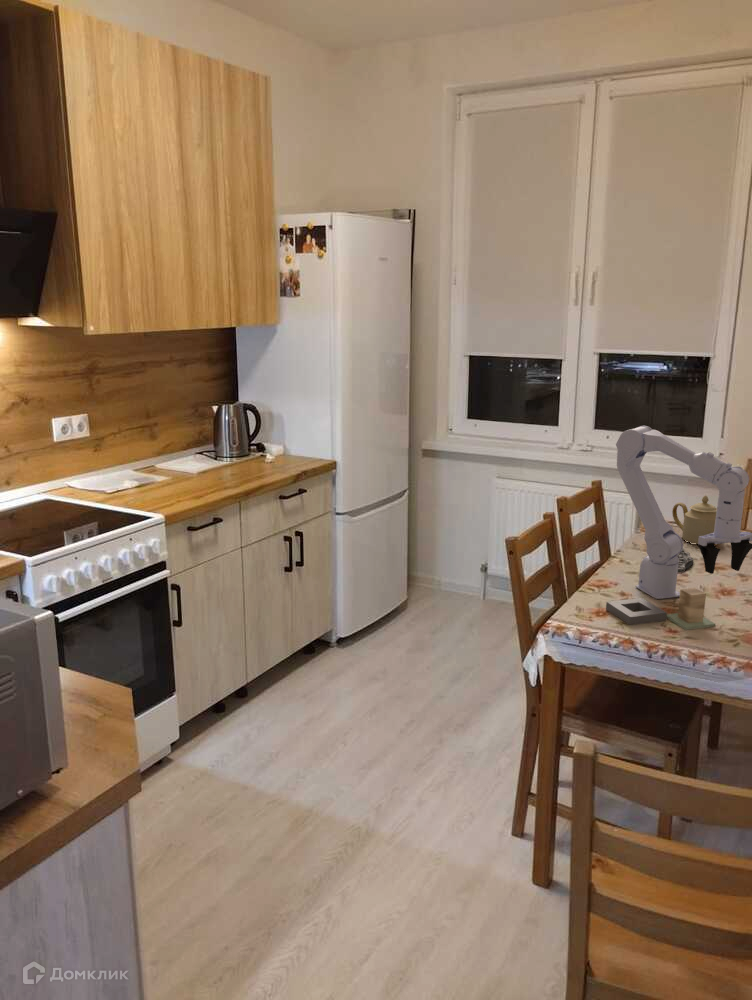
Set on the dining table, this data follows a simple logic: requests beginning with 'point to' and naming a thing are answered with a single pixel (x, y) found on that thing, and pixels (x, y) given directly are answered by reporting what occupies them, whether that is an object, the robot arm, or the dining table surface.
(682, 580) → the dining table surface
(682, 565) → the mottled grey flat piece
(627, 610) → the pocket plate
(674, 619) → the green mat
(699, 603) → the beech block
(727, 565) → the dining table surface
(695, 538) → the olive yellow teapot
